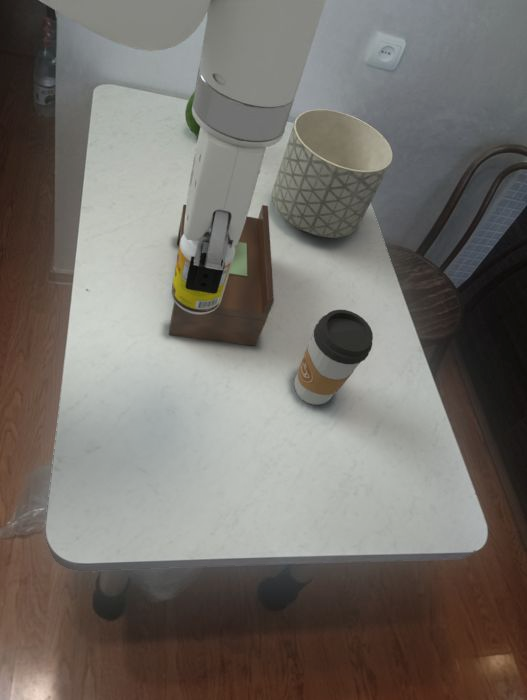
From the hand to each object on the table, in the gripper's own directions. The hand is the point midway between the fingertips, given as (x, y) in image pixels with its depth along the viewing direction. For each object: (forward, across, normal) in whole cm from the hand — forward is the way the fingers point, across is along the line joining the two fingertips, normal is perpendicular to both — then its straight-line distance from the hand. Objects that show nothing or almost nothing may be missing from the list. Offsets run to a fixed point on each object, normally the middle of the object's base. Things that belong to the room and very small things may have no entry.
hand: (203, 266), depth 56 cm
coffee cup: (+28, -6, +22) cm, 36 cm away
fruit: (+28, -69, 0) cm, 75 cm away
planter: (+28, -49, +25) cm, 61 cm away
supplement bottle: (+5, 0, 0) cm, 5 cm away
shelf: (+27, -23, +5) cm, 36 cm away
